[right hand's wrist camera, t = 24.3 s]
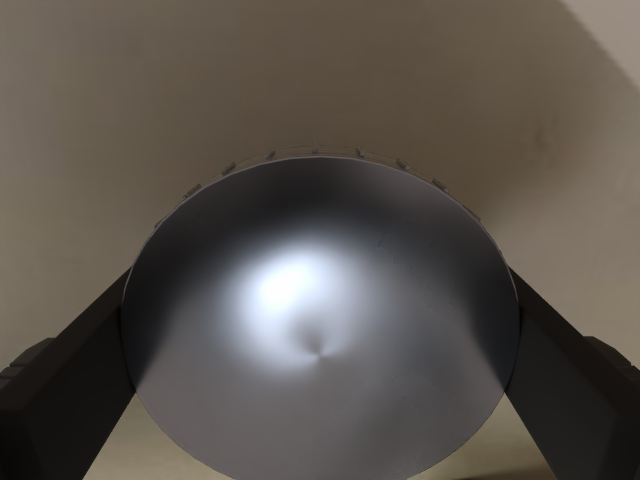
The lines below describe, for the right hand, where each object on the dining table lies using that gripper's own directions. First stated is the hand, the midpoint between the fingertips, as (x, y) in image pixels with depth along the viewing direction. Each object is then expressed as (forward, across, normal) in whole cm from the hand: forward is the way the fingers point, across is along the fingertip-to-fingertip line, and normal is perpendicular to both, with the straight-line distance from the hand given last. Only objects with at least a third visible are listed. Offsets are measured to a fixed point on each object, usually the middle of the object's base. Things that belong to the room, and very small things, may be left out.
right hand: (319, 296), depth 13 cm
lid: (-3, 0, 0) cm, 3 cm away
